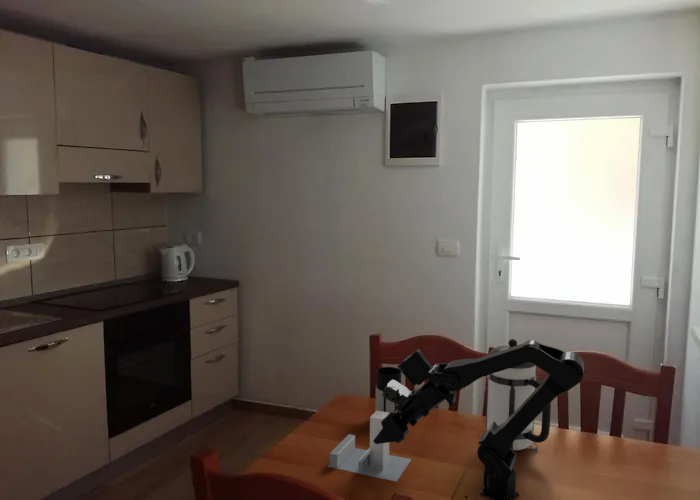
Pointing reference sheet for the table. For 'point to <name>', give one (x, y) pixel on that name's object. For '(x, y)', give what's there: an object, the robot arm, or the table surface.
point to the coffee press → (514, 399)
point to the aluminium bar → (378, 451)
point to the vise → (364, 461)
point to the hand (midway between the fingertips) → (381, 434)
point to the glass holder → (382, 380)
